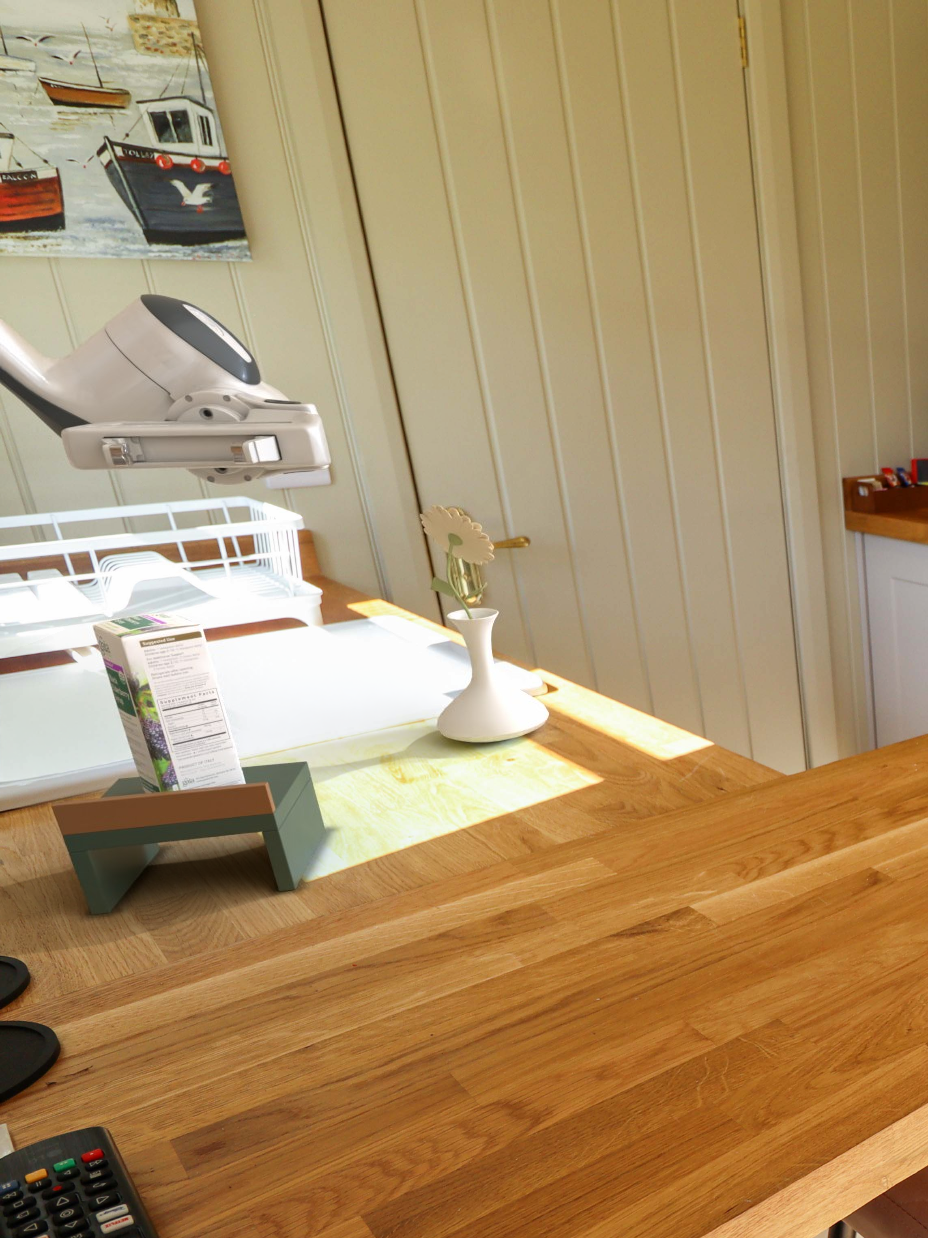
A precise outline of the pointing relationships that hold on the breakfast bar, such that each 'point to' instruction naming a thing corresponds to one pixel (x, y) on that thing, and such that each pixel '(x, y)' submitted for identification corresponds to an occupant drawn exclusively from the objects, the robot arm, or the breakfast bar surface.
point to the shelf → (189, 826)
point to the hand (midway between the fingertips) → (178, 455)
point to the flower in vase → (477, 646)
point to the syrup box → (169, 702)
